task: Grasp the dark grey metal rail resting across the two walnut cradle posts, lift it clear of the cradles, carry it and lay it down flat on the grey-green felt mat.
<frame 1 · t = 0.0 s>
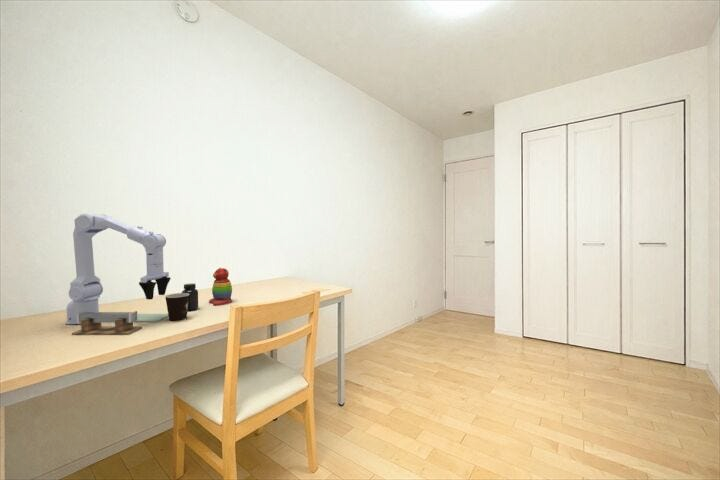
hand: (155, 297, 124), 10 cm above the table, tool pointing down, fingers open, 7 cm apart
supplement bottle: (190, 309, 142), on the table
rail: (107, 321, 112), point 4 cm above the table, touching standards
coffee mug: (180, 318, 130), on the table
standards: (108, 331, 112), on the table
stacking bear: (221, 303, 156), on the table
mat: (138, 318, 128), on the table
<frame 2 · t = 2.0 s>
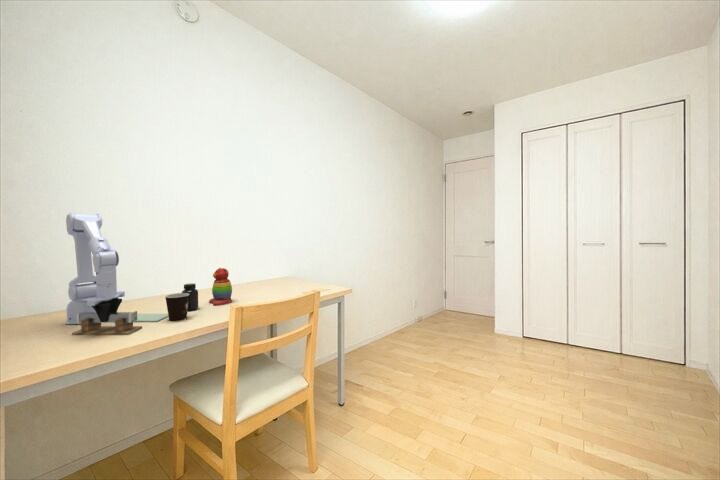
hand: (107, 320, 112), 4 cm above the table, tool pointing down, fingers closed on rail, 3 cm apart
rail: (107, 321, 112), point 4 cm above the table, touching gripper, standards
everything else where it was.
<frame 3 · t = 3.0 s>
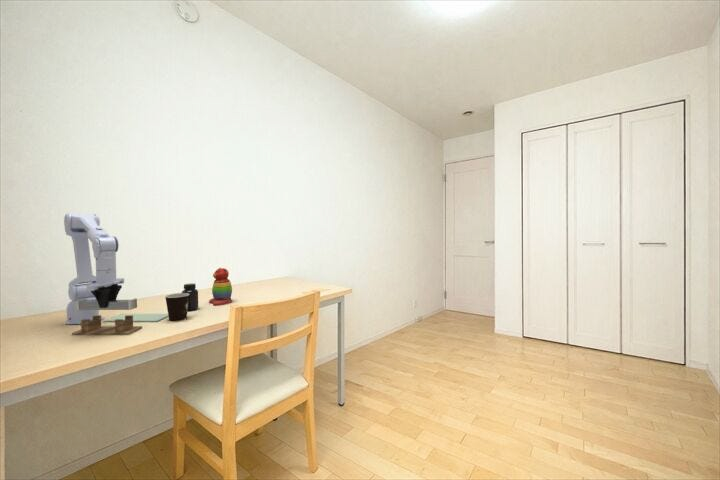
hand: (107, 306, 112), 9 cm above the table, tool pointing down, fingers closed on rail, 3 cm apart
rail: (107, 308, 112), point 8 cm above the table, touching gripper
everything else where it was.
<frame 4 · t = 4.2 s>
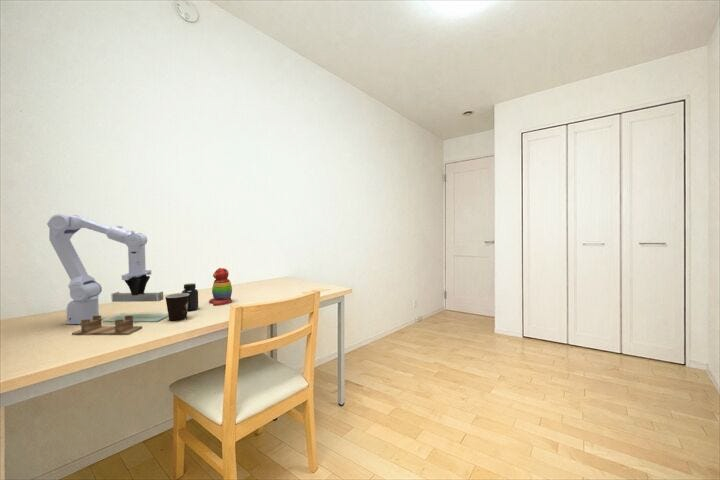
hand: (137, 294, 128), 10 cm above the table, tool pointing down, fingers closed on rail, 3 cm apart
rail: (137, 300, 128), point 8 cm above the table, touching gripper
everything else where it was.
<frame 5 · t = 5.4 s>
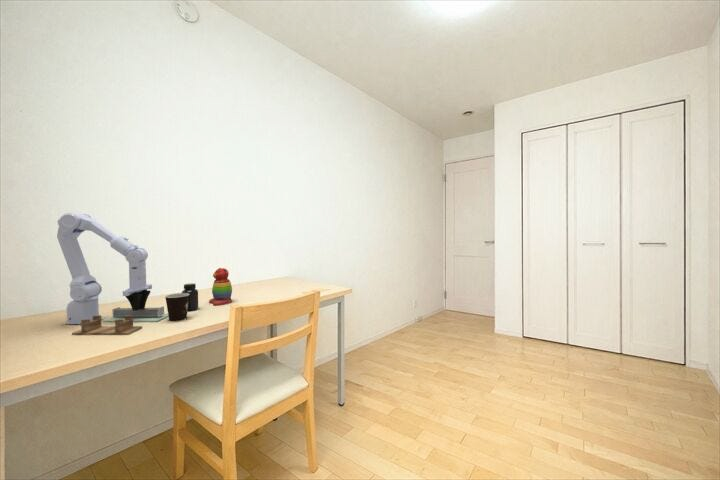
hand: (138, 309, 128), 4 cm above the table, tool pointing down, fingers closed on rail, 3 cm apart
rail: (138, 315, 128), point 1 cm above the table, touching gripper
everything else where it was.
when the fingers open (2 cm above the table, at t = 6.1 s): rail stays where it is, resting on mat.
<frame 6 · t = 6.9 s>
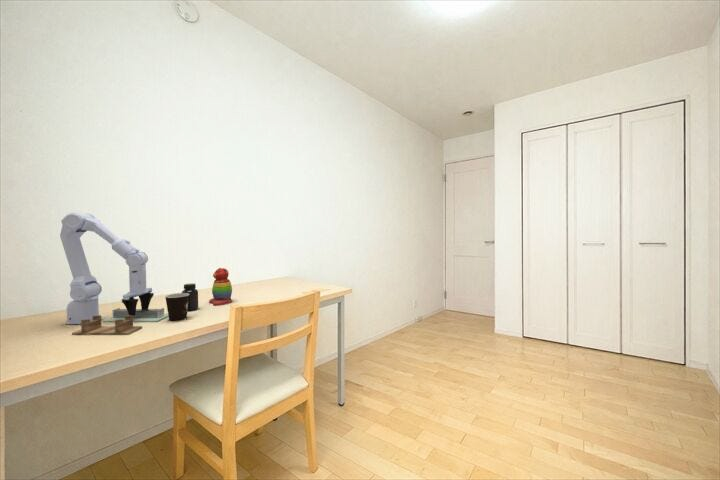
hand: (138, 312, 128), 2 cm above the table, tool pointing down, fingers open, 7 cm apart
rail: (138, 317, 128), point 1 cm above the table, touching mat
everything else where it was.
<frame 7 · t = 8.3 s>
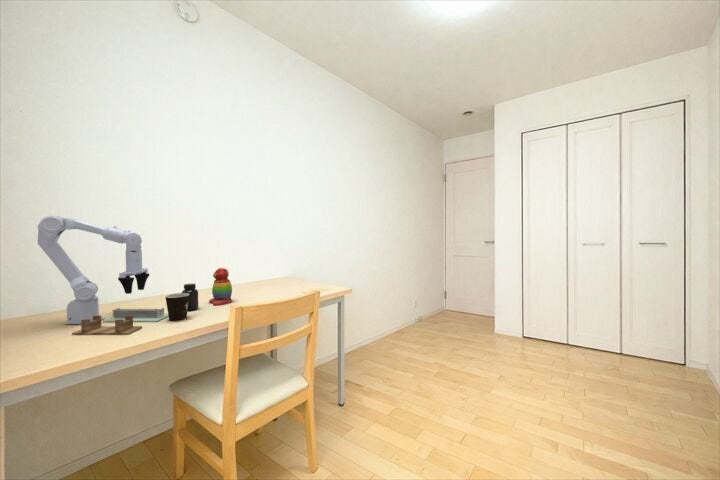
hand: (134, 291, 133), 10 cm above the table, tool pointing down, fingers open, 7 cm apart
nothing on the table moved.
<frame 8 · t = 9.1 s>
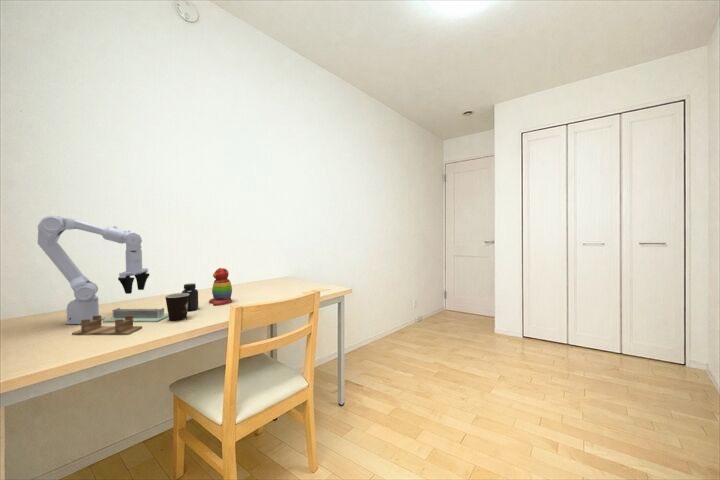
hand: (134, 291, 133), 10 cm above the table, tool pointing down, fingers open, 7 cm apart
nothing on the table moved.
at the end: rail inside the target area on the mat (0.0 cm from its centre), point 0.6 cm above the mat's base; rail touching mat; the gripper is holding nothing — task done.
